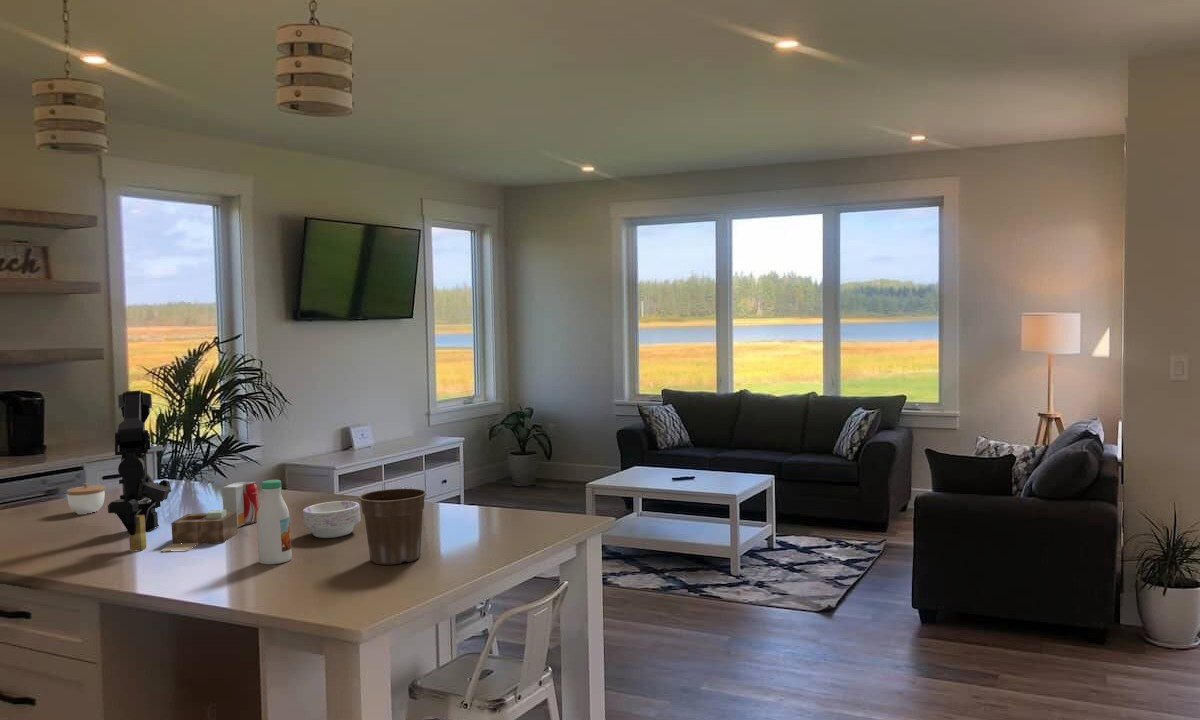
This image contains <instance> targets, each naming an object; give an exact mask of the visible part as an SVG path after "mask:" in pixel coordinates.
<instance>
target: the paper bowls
mask: <svg viewBox="0 0 1200 720" xmlns="http://www.w3.org/2000/svg"><path fill="white" fill-rule="evenodd" d="M361 519H362V518H361V504H359V502H357V501H351V500H340V501H339V500H337V501H336V500H335V501H329V502H328V501H327V502H321V503H316V504H312V505H309V506H306V507H304V508H303V510H302V520H303V522H302V523H303V527H304V528H305V529H309V531H311V534H312V535H313V536H314V537H316V538H319V539H334V538H340V537H344V536H347V535H349V534H351V533H352V532H353V530H354V528H355V525H357V524H358V523H360V522H361Z"/></svg>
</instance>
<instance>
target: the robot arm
mask: <svg viewBox="0 0 1200 720" xmlns="http://www.w3.org/2000/svg"><path fill="white" fill-rule="evenodd" d="M152 398H153V397H152V394H151V393H148V392H144V391H142V390H126V391H124V392H122V394H119V395H118V396H117V400H118V401H117V402H118V403H117V404H118V410H119V411H121V416H122V417H123V421H122V422H120V423H118V426H117V431H116V432H114V456H121V457H120V462H119V464H118V469H117V472H118V475H119V476H120V477H121V479H119V480H118V484H119V485H122V494H120V495H119V499H114V500H113V501H110V502H109V504H107V514H115V515H116V516H117V517H118V518H119V520H120V521H121V523H122V524H123V525H124V527H125V528H126V529H125V530H127V533H128V535H129V534H130V535H135V532H136V520H137V515H145V529H146V532H150V531H149V530H151V531H153V530H155V529H156V528H155V527H157V526H158V527H159V526H160V525H159V520H158V519H159V518H158V512H157V511H156V509H159V508H161V507H162V506H161V503H162V502H164V501H165V500H168V497H169V494H170V493H171V492H172V486H171V483H170V481H169V480H166V479H163V480H161V481H160V482H159V483H158V481H157V482H155V481H154V479H153V478H152V477H151V476H150V474H149V473H148V459H147V454H148V453H149V450H151V433H149V430H148V429H146V426H145V425H146V421H147V420H148V418H149V416H150V414H151V409H153V399H152ZM158 527H157V528H158ZM154 528H155V529H154ZM152 529H153V530H152Z"/></svg>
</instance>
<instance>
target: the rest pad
mask: <svg viewBox="0 0 1200 720" xmlns="http://www.w3.org/2000/svg"><path fill="white" fill-rule="evenodd" d="M197 544H198V543H182V544H173V543H171V544H170V545H168V546H166V547H165V548H163V549H161V550H160V552H161V551H171V550H189V549H191V548H192V547H194V546H195V545H197ZM198 545H199V544H198ZM198 545H197V546H198ZM195 547H196V546H195ZM195 547H194V548H195ZM192 549H193V548H192ZM192 549H191V550H192ZM189 551H190V550H189Z"/></svg>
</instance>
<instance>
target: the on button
mask: <svg viewBox="0 0 1200 720" xmlns="http://www.w3.org/2000/svg"><path fill="white" fill-rule="evenodd" d="M205 513H206V517H207V519H217V518H224V517H225V516H227V512H226V510H223V509H211V510H210V511H208V512H205Z"/></svg>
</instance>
